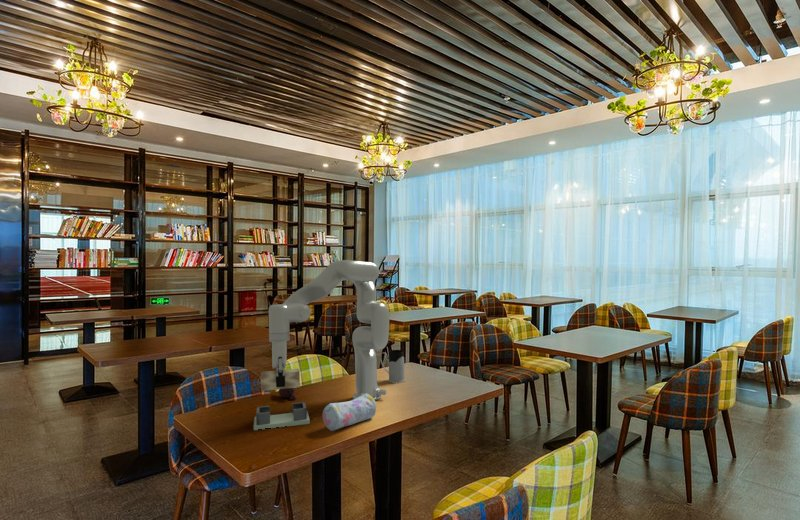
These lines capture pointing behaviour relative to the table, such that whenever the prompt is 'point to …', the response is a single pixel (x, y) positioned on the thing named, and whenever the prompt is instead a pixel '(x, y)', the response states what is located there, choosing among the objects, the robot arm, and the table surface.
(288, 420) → the base board
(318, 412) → the table surface
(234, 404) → the table surface
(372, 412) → the pencil case
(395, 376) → the glass holder
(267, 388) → the beige long block
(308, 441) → the table surface
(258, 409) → the end caps
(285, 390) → the icecream
